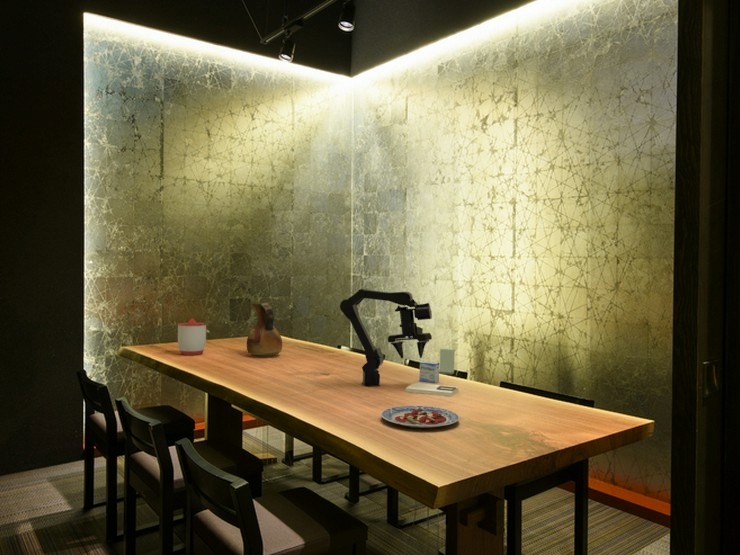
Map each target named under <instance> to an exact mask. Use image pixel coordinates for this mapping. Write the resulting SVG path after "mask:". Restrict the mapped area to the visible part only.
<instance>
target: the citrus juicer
mask: <svg viewBox="0 0 740 555" xmlns="http://www.w3.org/2000/svg"><path fill="white" fill-rule="evenodd" d="M207 326H208V325H207V323H204V322H197V321H196V320H195V319H194V318H190V319H189V320H188V322H182V323H181V322H180V323H177V345H178V349H179V352H180V355H183V356H196V355H197V356H199V355H203V353H204V351H205V347H206V342H207V333H209V334H210V330H209V329H207Z"/></svg>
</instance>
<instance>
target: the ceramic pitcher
mask: <svg viewBox="0 0 740 555" xmlns="http://www.w3.org/2000/svg"><path fill="white" fill-rule="evenodd" d="M251 305H252V306H253V307H254V309H255V312H256V314H257V315H256V317H257V318H256V320H257V321H256V324H255V325H254V326H253V327H251V329H250V331H249V333H248V335H247V338H246V351H247V353H248V354H250V355H254V356H277V355H279V354H280V353H281V352H282V349H283V339H282V336H281V333H280V332H279V330H278V328H276V326H274V321H275V320H274V318H275V314H274V311H273V306H272V303H271V302H263V303H262V302H258V303H257V302H256V303H252V304H251Z"/></svg>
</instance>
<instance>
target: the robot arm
mask: <svg viewBox="0 0 740 555" xmlns="http://www.w3.org/2000/svg"><path fill="white" fill-rule="evenodd" d="M364 299H370V300H378V301H387V302H390V303H393V304H396V305H397V306H396V308H395V309H394V312H399V319H400V324H399V326H398V327H399V328H400V329H401V333H397V334H391V335H388V337H387V343H390V345H392V346H393V348H394V349H395V350H396V352H397V353H398V355H399V358H400V359H404V350H403V343H404V341H411V340H412V341H414V340H415V341H416V340H417V342H416V346H417V350H418V351H417V352H418V356H419V359H422V358H423V355H424V350H425V346H426V345H427V343H429V341H431V340H433V338H432V334H431V332H424V330H423V329H424V328H423V327H420V326H418V325H417V322H415V319H417V321H422V320H423V321H424V320H432V316H433V314H432V309H431V305H430V303H429V302H426V303H421V304H418V303H417V301H416V300H414V296H413V294H412V293H411V292H410V291H394V292H393V291H392V292H389V291H381V290H373V289H366V288H360V289H358V291H357V292H355V293H354V294H353V295H351V296H350V297H349V298H347V299H346V298H345V299H343V300H342V301H340V304H339V308H340V310H341V312H342V313H343V315H344V316H345V317H346V318H347V319H348V321H350V324H351V325H352V328H353V330H354V331H355V333H356V336H357V338H358V340H359V342H360V344H361V346H362V347H363V350H364V355H365V360H366V363H364V364H363V365H362V367H361V368H362V382H361V384H362V385H363V386H364V387H376V386H377V387H380V386H381V382H380V381H381V378H380V377H381V374H380V371H379V368H380V367H381V366H382V365H383V363H384V361H385V360H384V359H385V358H384V356H385V355H384V354H383V352H382V350H381V347H378V348H377V347H376V346H375V345H374V343H373V342H372V339H371V338H370V335H369V333H368V331H367V329H366V327H365V325H364V323H363V321H362V319H361V317H360V313H359V308H358V305H359V304H361V302H363V300H364Z"/></svg>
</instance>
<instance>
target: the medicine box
mask: <svg viewBox="0 0 740 555" xmlns="http://www.w3.org/2000/svg"><path fill="white" fill-rule="evenodd" d="M418 379H419V380H418V381H419V382H423V383H427V384H429V383H430V384H437V383H439V382H440V362H434V361H433V362H432V361H424V360H423V361H420V362H419V378H418Z"/></svg>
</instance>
